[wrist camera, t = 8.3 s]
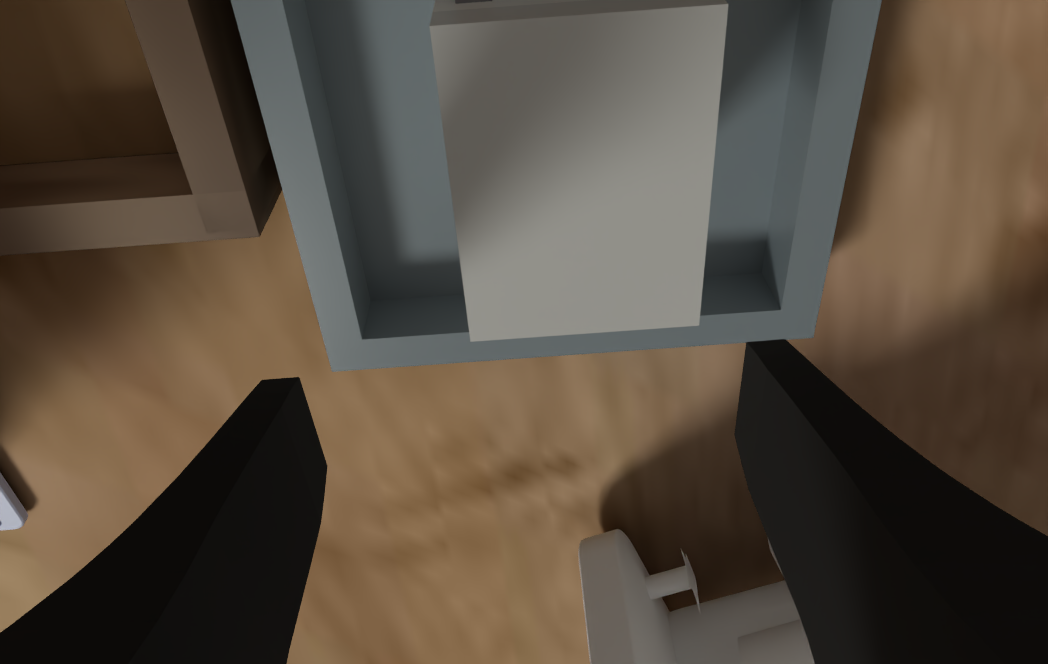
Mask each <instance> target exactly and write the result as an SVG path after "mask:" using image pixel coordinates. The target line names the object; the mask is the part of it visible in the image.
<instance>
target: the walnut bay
mask: <svg viewBox="0 0 1048 664" xmlns="http://www.w3.org/2000/svg"><path fill="white" fill-rule="evenodd" d="M125 2H126V5H127V8H128V11H129V13H130V16H131V19H132V22H133V25H134V28H135V31H136V33H137V36H138V39H139V42H140V45H141V48H142V50H143V53H144V56H145V59H146V62H147V65H148V68H149V70H150V73H151V76H152V79H153V82H154V85H155V88H156V90H157V93H158V96H159V99H160V102H161V105H162V108H163V110H164V113H165V116H166V119H167V122H168V125H169V128H170V130H171V133H172V136H173V139H174V142H175V145H176V148H177V150H178V153H170V154H156V155H143V156H129V157H115V158H101V159H88V160H74V161H60V162H47V163H33V164H19V165H6V166H0V256H1V255H15V254H29V253H42V252H56V251H70V250H84V249H98V248H112V247H126V246H140V245H154V244H167V243H181V242H195V241H209V240H223V239H237V238H251V237H260V235H261V233H262V231H263V229H264V226H265V224H266V222H267V220H268V218H269V216H270V214H271V212H272V210H273V208H274V206H275V203H276V201H277V199H278V197H279V195H280V193H281V191H282V187H281V183H280V179H279V176H278V172H277V168H276V165H275V161H274V157H273V154H272V150H271V146H270V143H269V139H268V135H267V132H266V128H265V124H264V121H263V117H262V113H261V110H260V106H259V102H258V99H257V95H256V91H255V88H254V84H253V80H252V77H251V73H250V69H249V66H248V62H247V58H246V55H245V51H244V47H243V44H242V40H241V36H240V33H239V29H238V25H237V22H236V18H235V14H234V11H233V7H232V3H231V0H125Z"/></svg>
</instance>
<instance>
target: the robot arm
mask: <svg viewBox="0 0 1048 664" xmlns="http://www.w3.org/2000/svg"><path fill="white" fill-rule="evenodd" d="M735 439H736V443H737V447H738V451H739V455H740V459H741V463H742V467H743V470H744V474H745V478H746V481H747V485H748V489H749V492H750V494H751V497H752V499H753V502H754V505H755V507H756V510H757V512H758V515H759V517H760V520H761V522H762V525H763V527H764V530H765V532H766V535H767V537H768V540H769V542H770V544H771V547H772V549H773V552H774V554H775V557H776V559H777V562H778V564H779V566H780V569H781V571H782V574H783V576H784V579H785V581H786V584H787V586H788V589H789V591H790V594H791V596H792V598H793V601H794V603H795V606H796V608H797V611H798V614H799V616H800V619H801V622H802V625H803V628H804V630H805V633H806V636H807V639H808V642H809V646H810V649H811V653H812V656H813V659H814V663H815V664H1048V536H1046V535H1045V534H1043V533H1041V532H1039V531H1037V530H1036V529H1034V528H1032V527H1030V526H1029V525H1027V524H1025V523H1023V522H1021V521H1020V520H1018V519H1016V518H1015V517H1013V516H1011V515H1010V514H1008V513H1006V512H1005V511H1003V510H1001V509H1000V508H998V507H997V506H995V505H993V504H992V503H990V502H989V501H987V500H986V499H984V498H983V497H981V496H980V495H978V494H976V493H975V492H973V491H972V490H970V489H969V488H967V487H966V486H964V485H963V484H961V483H960V482H958V481H956V480H955V479H954V478H952V477H951V476H949V475H948V474H946V473H945V472H943V471H942V470H941V469H939V468H938V467H936V466H935V465H934V464H932V463H931V462H930V461H928V460H927V459H926V458H924V457H923V456H922V455H920V454H919V453H918V452H916V451H915V450H914V449H912V448H911V447H910V446H908V445H907V444H906V443H904V442H903V441H902V440H900V439H899V438H898V437H897V436H895V435H894V434H893V433H892V432H890V431H889V430H888V429H887V428H885V427H884V426H883V425H882V424H880V423H879V422H878V421H877V420H875V419H874V418H873V417H872V416H871V415H870V414H868V413H867V412H866V411H865V410H864V409H862V408H861V407H860V406H859V405H858V404H857V403H855V402H854V401H853V400H852V399H851V398H850V397H848V396H847V395H846V394H845V393H844V392H843V391H842V390H841V389H839V388H838V387H837V386H836V385H835V384H834V383H833V382H832V381H831V380H829V379H828V378H827V377H826V376H825V375H824V374H823V373H822V372H821V371H820V370H818V369H817V368H816V367H815V366H814V365H813V364H812V363H811V362H810V361H809V360H807V359H806V358H805V357H804V356H803V355H802V354H801V353H800V352H799V351H798V350H796V349H795V348H794V347H793V346H792V345H791V344H790V343H789V342H788V341H786V340H785V339H778V340H766V341H753V342H746V350H745V358H744V365H743V373H742V381H741V388H740V396H739V404H738V411H737V419H736V427H735ZM326 474H327V464H326V460H325V457H324V454H323V451H322V448H321V445H320V441H319V438H318V435H317V432H316V429H315V426H314V422H313V419H312V416H311V413H310V410H309V407H308V403H307V400H306V397H305V394H304V391H303V388H302V384H301V381H300V378H299V377H294V378H281V379H268V380H261V381H260V383H259V384H258V385H257V386H256V387H255V388H254V389H253V391H252V392H251V393H250V394H249V395H248V396H247V397H246V399H245V400H244V401H243V402H242V403H241V404H240V406H239V407H238V408H237V409H236V410H235V412H234V413H233V414H232V415H231V416H230V417H229V419H228V420H227V421H226V422H225V423H224V425H223V426H222V427H221V428H220V429H219V430H218V432H217V433H216V434H215V435H214V436H213V437H212V439H211V440H210V441H209V442H208V443H207V444H206V445H205V447H204V448H203V449H202V450H201V451H200V452H199V453H198V455H197V456H196V457H195V458H194V459H193V460H192V461H191V462H190V464H189V465H188V466H187V467H186V468H185V469H184V470H183V471H182V473H181V474H180V475H179V476H178V477H177V478H176V479H175V480H174V481H173V482H172V483H171V484H170V485H169V486H168V487H167V488H166V489H165V490H164V492H163V493H162V494H161V495H160V496H159V497H158V498H157V499H156V500H155V501H154V502H153V503H152V504H151V505H150V506H149V507H148V508H147V509H146V510H145V511H144V512H143V513H142V514H141V515H140V516H139V517H138V518H137V519H136V520H135V521H134V522H133V523H132V524H131V525H130V526H129V527H128V528H127V529H126V530H125V531H124V532H123V533H122V534H121V535H120V536H118V537H117V538H116V539H115V540H114V541H113V542H112V543H111V544H110V545H109V546H108V547H106V548H105V549H104V550H103V551H102V552H101V553H100V554H98V555H97V556H96V557H95V558H94V559H93V560H92V561H90V562H89V563H88V564H87V565H86V566H85V567H84V568H82V569H81V570H80V571H79V572H78V573H77V574H75V575H74V576H73V577H72V578H71V579H69V580H68V581H67V582H66V583H64V584H63V585H62V586H60V587H59V588H58V589H57V590H55V591H54V592H53V593H51V594H50V595H49V596H48V597H46V598H45V599H44V600H43V601H41V602H40V603H39V604H37V605H36V606H35V607H34V608H32V609H31V610H30V611H28V612H27V613H26V614H25V615H23V616H22V617H21V618H19V619H18V620H17V621H16V622H14V623H13V624H12V625H10V626H9V627H8V628H6V629H5V630H3V631H2V632H1V633H0V664H286V663H287V658H288V653H289V648H290V645H291V641H292V637H293V633H294V629H295V625H296V621H297V617H298V613H299V609H300V605H301V601H302V597H303V593H304V589H305V585H306V581H307V578H308V574H309V570H310V566H311V562H312V557H313V553H314V549H315V545H316V541H317V537H318V533H319V529H320V524H321V518H322V510H323V502H324V493H325V484H326ZM27 518H28V514H27V511H26V510H25V508H24V507H23V505H22V504H21V502H20V501H19V499H18V498H17V497H16V495H15V494H14V492H13V491H12V489H11V488H10V486H9V485H8V483H7V482H6V480H5V479H4V477H3V476H2V474H1V473H0V530H11V529H18V528H21V527H22V526H23V525H24V523H25V522H26V520H27Z"/></svg>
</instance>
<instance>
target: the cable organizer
mask: <svg viewBox="0 0 1048 664" xmlns="http://www.w3.org/2000/svg"><path fill="white" fill-rule="evenodd" d="M768 542H769V540H768ZM769 547H770V551H771V553H772V555H773V557H774V559H775V561H776V563H777V565H778V567H779V569H780V566H779V564H778V562H777V559H776V557H775V554H774V552H773V549H772V547H771V544H770V542H769ZM681 552H682V550H681ZM578 555H579V567H580V576H581V585H582V594H583V603H584V612H585V621H586V630H587V640H588V649H589V658H590V664H815V663H814V659H813V656H812V653H811V649H810V646H809V642H808V639H807V636H806V633H805V630H804V628H803V625H802V622H801V619H800V616H799V614H798V611H797V608H796V606H795V603H794V601H793V598H792V596H791V594H790V591H789V589H788V586H787V584H786V581H785V580H783V581H780V582H776V583H772V584H769V585H765V586H761V587H758V588H754V589H750V590H747V591H743V592H739V593H736V594H732V595H728V596H725V597H721V598H717V599H714V600H710V601H706V602H702V603H699V599H698V590H697V584H696V578H695V575H694V572H693V570H692V567H691V565H690V562H689V560H688V557H687V555H686V558H685V556H684V554H683V552H682V555H683V559H684V562H685V566H682V567H678V568H675V569H671V570H668V571H664V572H660V573H657V574H653V575H649V573H648V572H647V570H646V568H645V566H644V564H643V562H642V561H641V559H640V557H639V555H638V553H637V552H636V550H635V548H634V546H633V544H632V543H631V541H630V540H629V538H628V537H627V536H626V534H625V533H624V532H623V531H621V530H620V529H615V530H612V531H608V532H605V533H602V534H598V535H595V536H592V537H588V538H585V539H583V540H581V542H580V545H579V554H578ZM780 571H781V569H780ZM781 573H782V571H781ZM782 575H783V574H782ZM783 577H784V576H783ZM689 589H692V590H693V592H694V595H695V598H696V601H697V604H695V605H691V606H688V607H684V608H680V609H677V610H674V611H671V612H670V611H669V610H668V608H667V606H666V604H665V602H664V601H663V599H662V597H663V596H667V595H671V594H674V593H678V592H681V591H685V590H689Z"/></svg>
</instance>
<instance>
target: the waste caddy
mask: <svg viewBox="0 0 1048 664" xmlns="http://www.w3.org/2000/svg"><path fill="white" fill-rule="evenodd" d="M727 15H728V3H727V2H726V1H725V0H435V3H434V8H433V12H432V17H431V21H430V26H429V27H430V35H431V42H432V50H433V58H434V65H435V73H436V81H437V88H438V96H439V104H440V111H441V119H442V127H443V134H444V142H445V150H446V157H447V165H448V173H449V181H450V188H451V196H452V204H453V211H454V219H455V227H456V234H457V242H458V250H459V257H460V265H461V273H462V280H463V288H464V296H465V304H466V311H467V319H468V327H469V334H470V342H474V341H488V340H503V339H517V338H531V337H545V336H559V335H573V334H588V333H602V332H616V331H630V330H644V329H658V328H673V327H687V326H699V321H700V310H701V299H702V289H703V278H704V267H705V256H706V245H707V234H708V223H709V212H710V201H711V190H712V179H713V168H714V157H715V146H716V135H717V124H718V113H719V102H720V91H721V80H722V69H723V58H724V47H725V37H726V26H727Z"/></svg>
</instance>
